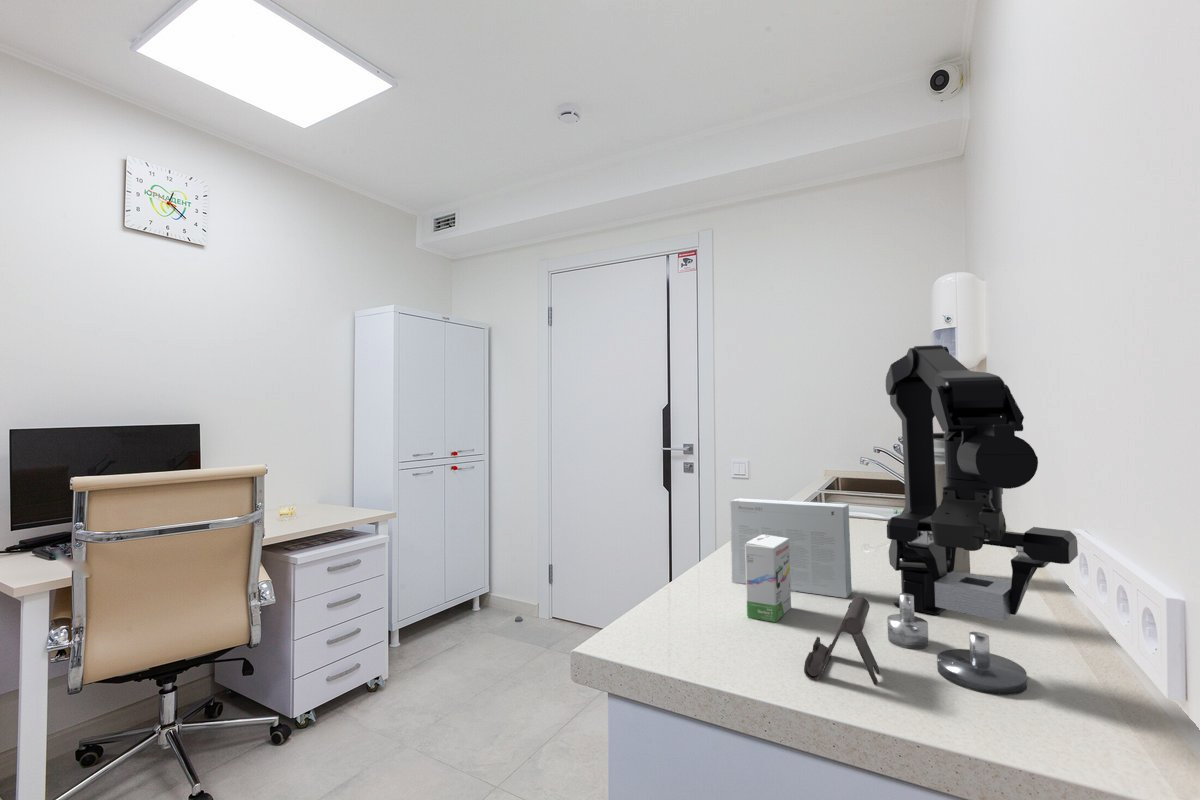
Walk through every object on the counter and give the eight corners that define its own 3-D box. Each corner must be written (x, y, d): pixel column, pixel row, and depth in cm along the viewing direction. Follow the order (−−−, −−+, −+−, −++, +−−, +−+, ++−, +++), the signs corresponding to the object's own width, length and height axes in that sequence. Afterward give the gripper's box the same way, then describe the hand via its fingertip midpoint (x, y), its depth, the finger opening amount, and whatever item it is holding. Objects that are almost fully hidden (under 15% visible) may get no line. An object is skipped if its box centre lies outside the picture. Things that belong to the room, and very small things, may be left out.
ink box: (776, 623, 87) (774, 546, 88) (745, 617, 90) (743, 543, 90) (792, 607, 94) (790, 536, 95) (763, 602, 97) (761, 533, 97)
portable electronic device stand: (816, 652, 77) (814, 590, 77) (881, 664, 73) (879, 598, 73) (804, 678, 69) (802, 609, 69) (875, 693, 65) (873, 620, 65)
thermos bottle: (954, 570, 114) (949, 432, 115) (980, 582, 106) (974, 433, 107) (914, 571, 114) (909, 432, 115) (937, 582, 106) (932, 434, 107)
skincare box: (853, 591, 103) (850, 503, 103) (847, 599, 98) (845, 507, 98) (739, 575, 114) (737, 496, 114) (730, 582, 109) (728, 500, 110)
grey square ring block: (954, 593, 74) (953, 570, 74) (1019, 606, 69) (1018, 581, 69) (935, 606, 69) (934, 582, 69) (1003, 621, 64) (1002, 594, 64)
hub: (951, 654, 75) (949, 616, 75) (1035, 677, 68) (1033, 635, 68) (926, 676, 69) (925, 634, 69) (1016, 703, 62) (1014, 657, 62)
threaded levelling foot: (896, 632, 83) (894, 587, 83) (934, 642, 79) (932, 595, 79) (882, 641, 79) (880, 595, 80) (920, 652, 76) (919, 603, 76)
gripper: (866, 478, 71) (870, 604, 70) (1055, 491, 57) (1061, 648, 57) (901, 471, 78) (905, 585, 78) (1075, 481, 64) (1081, 619, 64)
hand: (977, 606), depth 69 cm, fingers closed on grey square ring block, 7 cm apart
